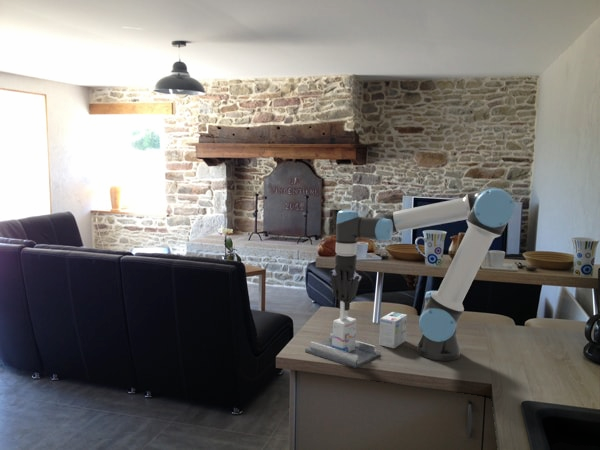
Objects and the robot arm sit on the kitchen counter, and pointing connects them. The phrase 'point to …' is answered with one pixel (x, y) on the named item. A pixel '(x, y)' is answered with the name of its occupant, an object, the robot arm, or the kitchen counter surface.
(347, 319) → the ink box
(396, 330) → the light bulb box
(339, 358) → the rail board
